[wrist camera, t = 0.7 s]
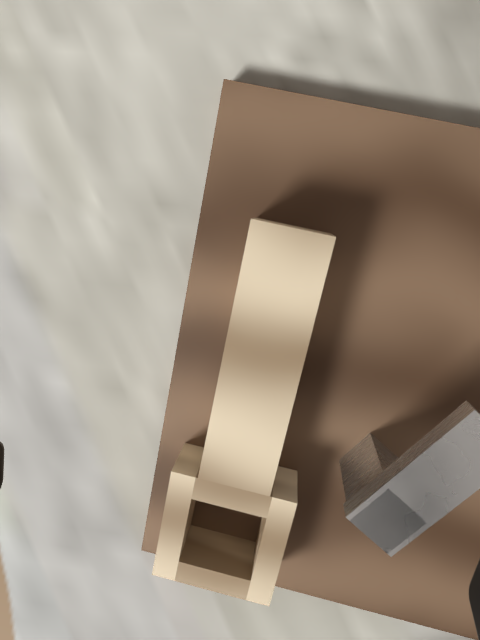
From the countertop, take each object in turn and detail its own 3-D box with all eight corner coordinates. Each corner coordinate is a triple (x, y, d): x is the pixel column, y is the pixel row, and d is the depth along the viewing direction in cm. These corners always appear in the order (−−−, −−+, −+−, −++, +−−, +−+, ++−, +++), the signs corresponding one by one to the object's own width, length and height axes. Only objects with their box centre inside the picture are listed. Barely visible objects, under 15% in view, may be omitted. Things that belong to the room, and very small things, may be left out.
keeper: (476, 403, 20) (523, 455, 16) (372, 489, 21) (390, 557, 17) (437, 367, 20) (474, 409, 16) (336, 457, 21) (345, 517, 17)
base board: (635, 666, 23) (735, 802, 18) (147, 536, 25) (107, 625, 20) (890, 213, 17) (1154, 215, 12) (227, 85, 19) (200, 37, 14)
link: (272, 564, 23) (269, 606, 21) (166, 537, 24) (151, 574, 21) (359, 239, 19) (368, 243, 16) (228, 211, 19) (219, 212, 17)
